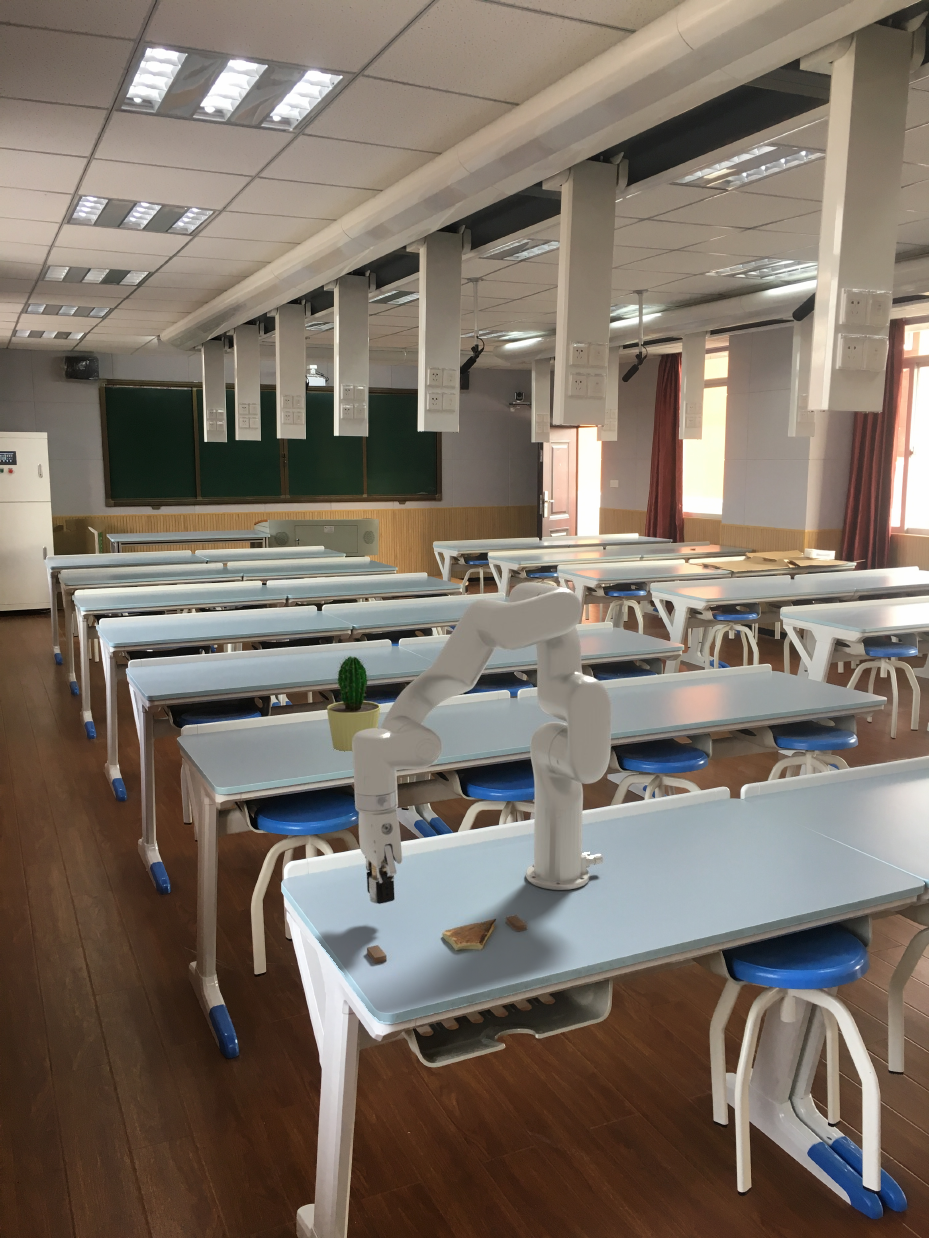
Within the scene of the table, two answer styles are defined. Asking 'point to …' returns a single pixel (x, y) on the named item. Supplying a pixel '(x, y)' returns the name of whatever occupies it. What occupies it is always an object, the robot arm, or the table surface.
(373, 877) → the gold capped bottle
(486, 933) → the shard
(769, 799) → the table surface
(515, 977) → the table surface
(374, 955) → the small brown blocks
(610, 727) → the robot arm
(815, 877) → the table surface
